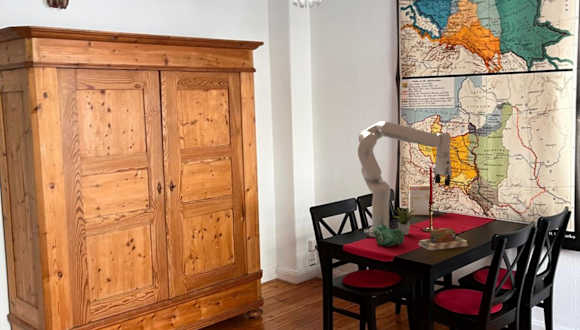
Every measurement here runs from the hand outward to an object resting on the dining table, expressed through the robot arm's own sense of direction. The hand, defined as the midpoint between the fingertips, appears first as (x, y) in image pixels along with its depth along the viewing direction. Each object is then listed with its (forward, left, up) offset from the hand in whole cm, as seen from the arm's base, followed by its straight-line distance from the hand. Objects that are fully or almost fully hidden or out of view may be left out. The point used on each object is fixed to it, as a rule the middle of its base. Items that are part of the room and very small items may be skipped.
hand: (442, 184), depth 339 cm
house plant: (-21, +5, -28) cm, 36 cm away
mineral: (-40, -11, -29) cm, 50 cm away
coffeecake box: (+15, +48, -29) cm, 58 cm away
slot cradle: (-14, -23, -28) cm, 39 cm away
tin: (-14, -22, -28) cm, 38 cm away
